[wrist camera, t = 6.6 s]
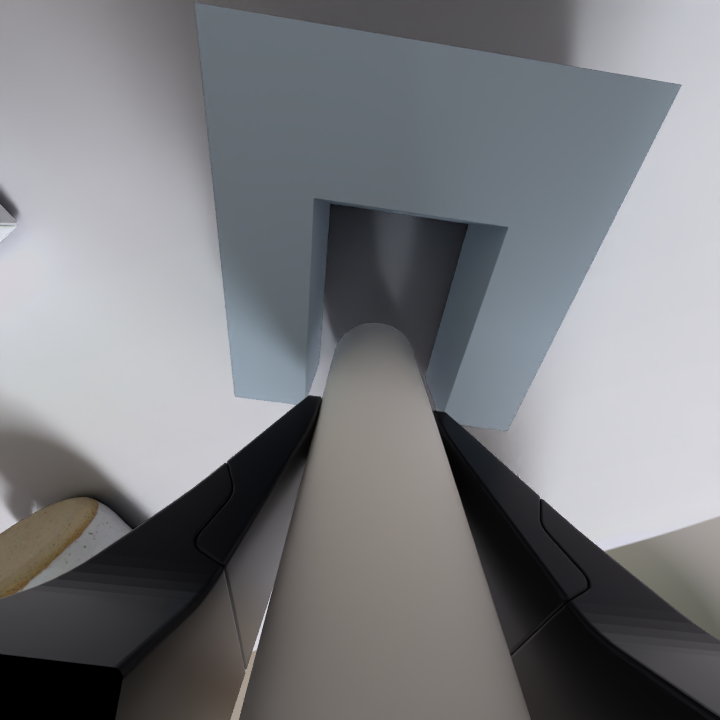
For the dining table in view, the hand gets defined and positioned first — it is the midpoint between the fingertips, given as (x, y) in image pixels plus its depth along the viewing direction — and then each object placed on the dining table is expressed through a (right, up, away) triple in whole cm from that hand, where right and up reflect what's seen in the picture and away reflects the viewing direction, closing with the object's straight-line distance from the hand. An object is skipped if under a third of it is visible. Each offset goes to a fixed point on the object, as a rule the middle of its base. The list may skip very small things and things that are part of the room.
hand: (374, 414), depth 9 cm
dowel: (0, +2, +3) cm, 4 cm away
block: (+1, +6, +2) cm, 6 cm away
